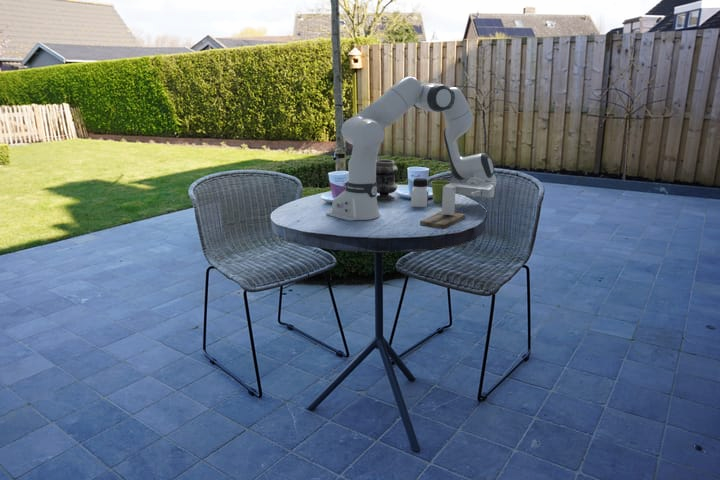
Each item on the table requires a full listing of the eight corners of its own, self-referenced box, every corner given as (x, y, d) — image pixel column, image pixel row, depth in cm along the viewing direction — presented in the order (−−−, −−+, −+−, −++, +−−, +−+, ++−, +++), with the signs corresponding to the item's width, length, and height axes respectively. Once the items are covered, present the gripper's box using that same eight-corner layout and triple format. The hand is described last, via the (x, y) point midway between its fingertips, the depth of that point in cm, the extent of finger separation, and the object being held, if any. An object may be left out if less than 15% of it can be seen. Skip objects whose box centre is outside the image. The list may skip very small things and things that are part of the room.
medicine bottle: (427, 207, 217) (428, 180, 214) (411, 206, 219) (411, 179, 215) (428, 203, 224) (428, 177, 221) (412, 203, 225) (412, 176, 222)
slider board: (420, 224, 190) (420, 220, 190) (442, 214, 205) (442, 210, 205) (444, 228, 185) (444, 224, 184) (465, 217, 200) (465, 213, 199)
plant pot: (450, 204, 223) (451, 184, 221) (429, 203, 225) (429, 184, 222) (450, 199, 232) (451, 181, 229) (430, 198, 234) (431, 180, 231)
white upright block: (441, 213, 197) (442, 186, 194) (445, 212, 200) (446, 185, 196) (451, 215, 195) (452, 187, 192) (454, 213, 197) (455, 186, 194)
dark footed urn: (397, 201, 228) (397, 162, 222) (370, 201, 229) (370, 162, 223) (397, 196, 239) (397, 158, 234) (372, 196, 240) (372, 158, 235)
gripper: (453, 178, 220) (439, 183, 209) (498, 182, 208) (485, 188, 198) (453, 192, 222) (438, 198, 211) (497, 197, 210) (484, 203, 200)
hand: (461, 193), depth 204 cm, fingers open, 8 cm apart
